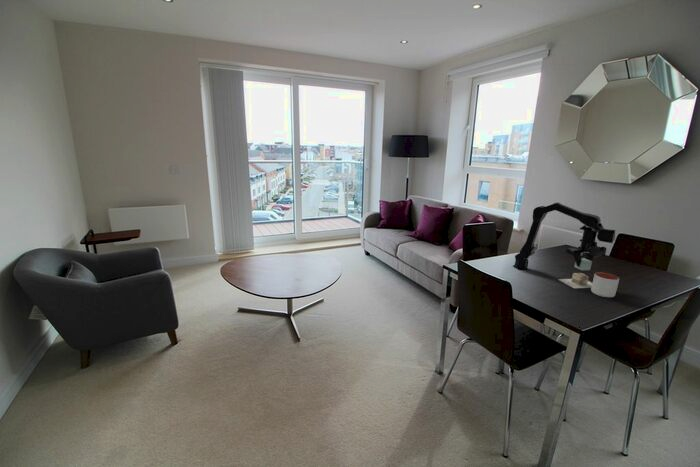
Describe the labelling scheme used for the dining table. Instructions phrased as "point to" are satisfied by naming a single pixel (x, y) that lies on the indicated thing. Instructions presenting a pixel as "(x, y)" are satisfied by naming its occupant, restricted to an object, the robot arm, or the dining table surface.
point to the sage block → (584, 264)
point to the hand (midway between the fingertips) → (582, 266)
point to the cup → (604, 284)
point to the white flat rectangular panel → (568, 282)
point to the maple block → (579, 279)
